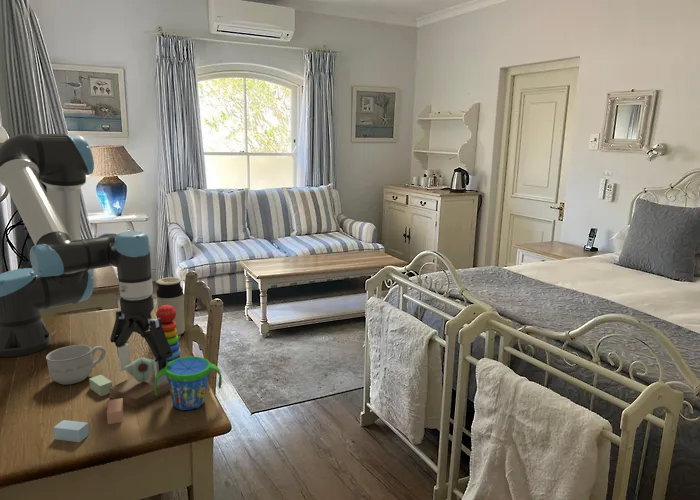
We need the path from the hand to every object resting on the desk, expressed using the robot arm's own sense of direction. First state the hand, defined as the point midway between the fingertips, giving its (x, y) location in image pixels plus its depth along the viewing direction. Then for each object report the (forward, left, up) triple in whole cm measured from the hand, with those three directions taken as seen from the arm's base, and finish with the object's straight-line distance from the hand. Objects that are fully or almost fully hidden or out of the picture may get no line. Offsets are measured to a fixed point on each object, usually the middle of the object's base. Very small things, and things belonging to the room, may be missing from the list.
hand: (142, 375), depth 129 cm
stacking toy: (-5, +12, -5) cm, 14 cm away
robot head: (0, 0, -2) cm, 2 cm away
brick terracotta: (+4, -11, -5) cm, 12 cm away
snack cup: (+14, +2, -5) cm, 15 cm away
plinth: (0, 0, -4) cm, 4 cm away
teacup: (-21, -4, -5) cm, 22 cm away
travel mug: (-25, +31, -5) cm, 40 cm away
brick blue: (+3, -21, -5) cm, 22 cm away
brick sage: (-10, -5, -5) cm, 12 cm away
